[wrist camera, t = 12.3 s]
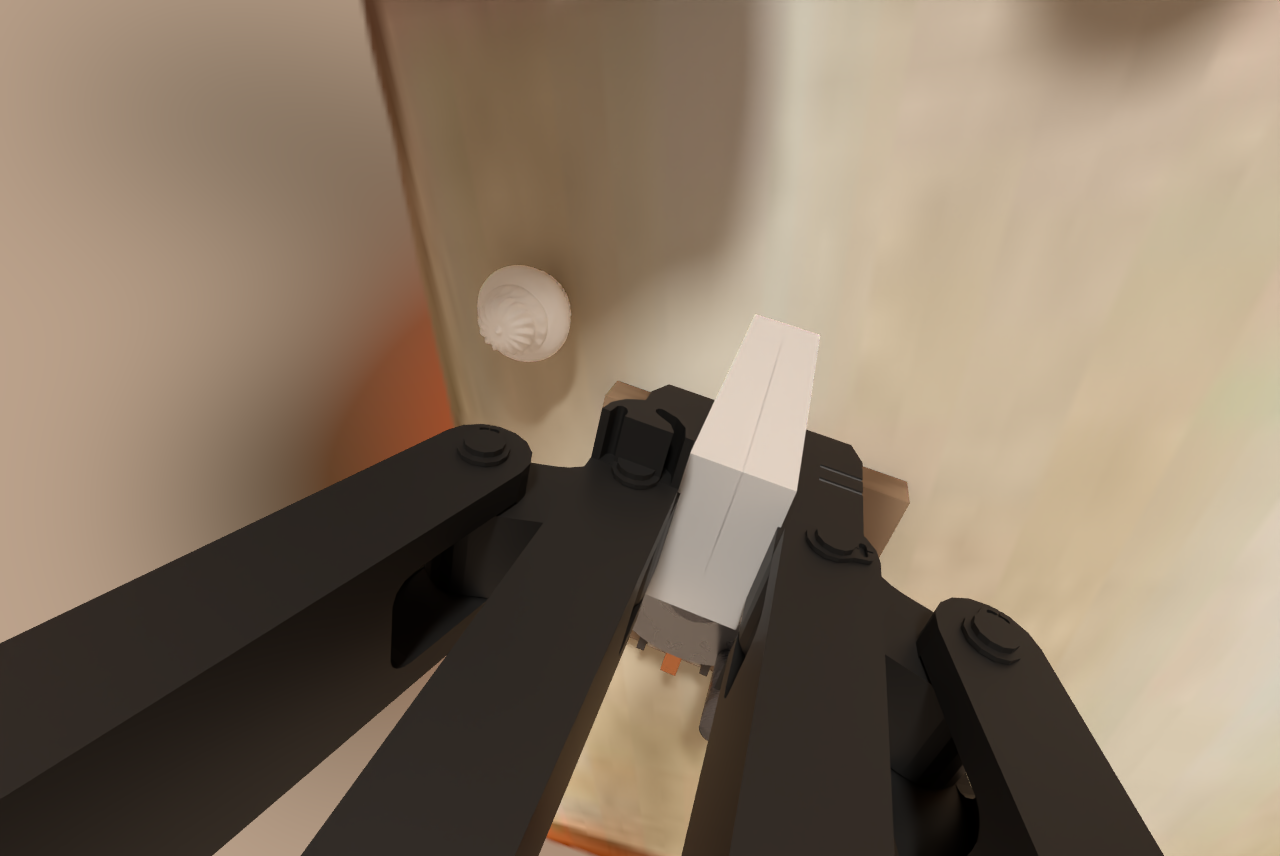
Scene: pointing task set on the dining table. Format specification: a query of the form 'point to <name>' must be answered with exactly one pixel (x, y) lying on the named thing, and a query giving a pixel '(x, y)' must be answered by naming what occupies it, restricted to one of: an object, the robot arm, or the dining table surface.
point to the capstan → (687, 644)
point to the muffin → (523, 313)
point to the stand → (880, 494)
